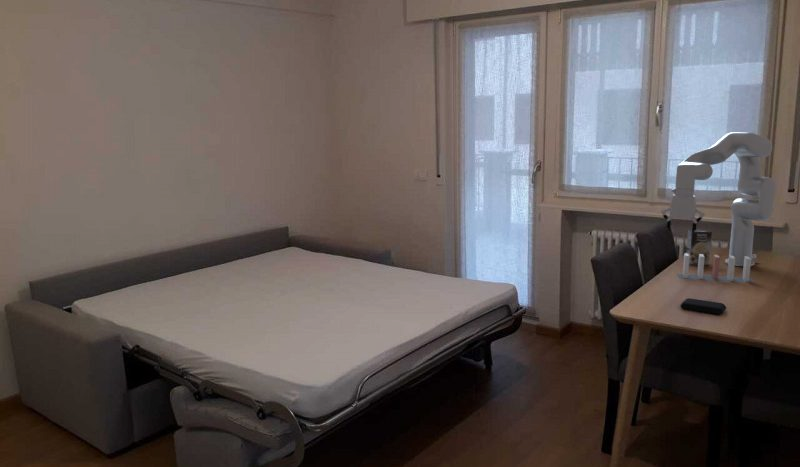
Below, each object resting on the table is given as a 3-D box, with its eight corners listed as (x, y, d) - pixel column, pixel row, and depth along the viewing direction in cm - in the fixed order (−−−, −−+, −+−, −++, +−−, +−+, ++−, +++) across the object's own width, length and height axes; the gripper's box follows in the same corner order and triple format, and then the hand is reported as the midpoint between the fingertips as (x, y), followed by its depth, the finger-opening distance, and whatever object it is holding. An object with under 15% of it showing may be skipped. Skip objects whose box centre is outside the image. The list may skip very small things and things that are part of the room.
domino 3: (729, 280, 268) (731, 258, 266) (727, 277, 273) (729, 255, 271) (733, 280, 268) (735, 258, 266) (731, 277, 272) (733, 255, 270)
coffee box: (689, 264, 297) (692, 231, 294) (684, 261, 304) (687, 229, 301) (709, 264, 297) (712, 232, 293) (704, 261, 303) (706, 229, 300)
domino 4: (744, 281, 266) (746, 258, 264) (742, 278, 271) (744, 256, 269) (748, 281, 266) (751, 259, 264) (746, 278, 270) (748, 256, 268)
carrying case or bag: (727, 309, 232) (685, 303, 241) (728, 302, 232) (686, 295, 240) (722, 317, 224) (678, 310, 233) (722, 309, 223) (679, 302, 232)
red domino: (713, 279, 270) (715, 257, 268) (711, 276, 275) (713, 254, 273) (717, 279, 269) (719, 257, 267) (715, 276, 274) (717, 254, 272)
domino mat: (678, 279, 273) (678, 278, 273) (676, 274, 280) (676, 273, 280) (755, 283, 264) (755, 283, 264) (751, 279, 271) (751, 278, 271)
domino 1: (683, 277, 274) (685, 255, 272) (682, 274, 278) (684, 253, 276) (687, 278, 273) (689, 256, 271) (686, 275, 278) (688, 253, 276)
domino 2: (698, 278, 272) (700, 256, 270) (697, 275, 276) (698, 254, 274) (702, 278, 271) (704, 256, 269) (701, 276, 276) (702, 254, 274)
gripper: (661, 192, 270) (658, 230, 273) (705, 194, 262) (702, 234, 265) (663, 190, 276) (661, 227, 280) (706, 192, 268) (703, 231, 271)
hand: (681, 230), depth 272 cm, fingers open, 9 cm apart
